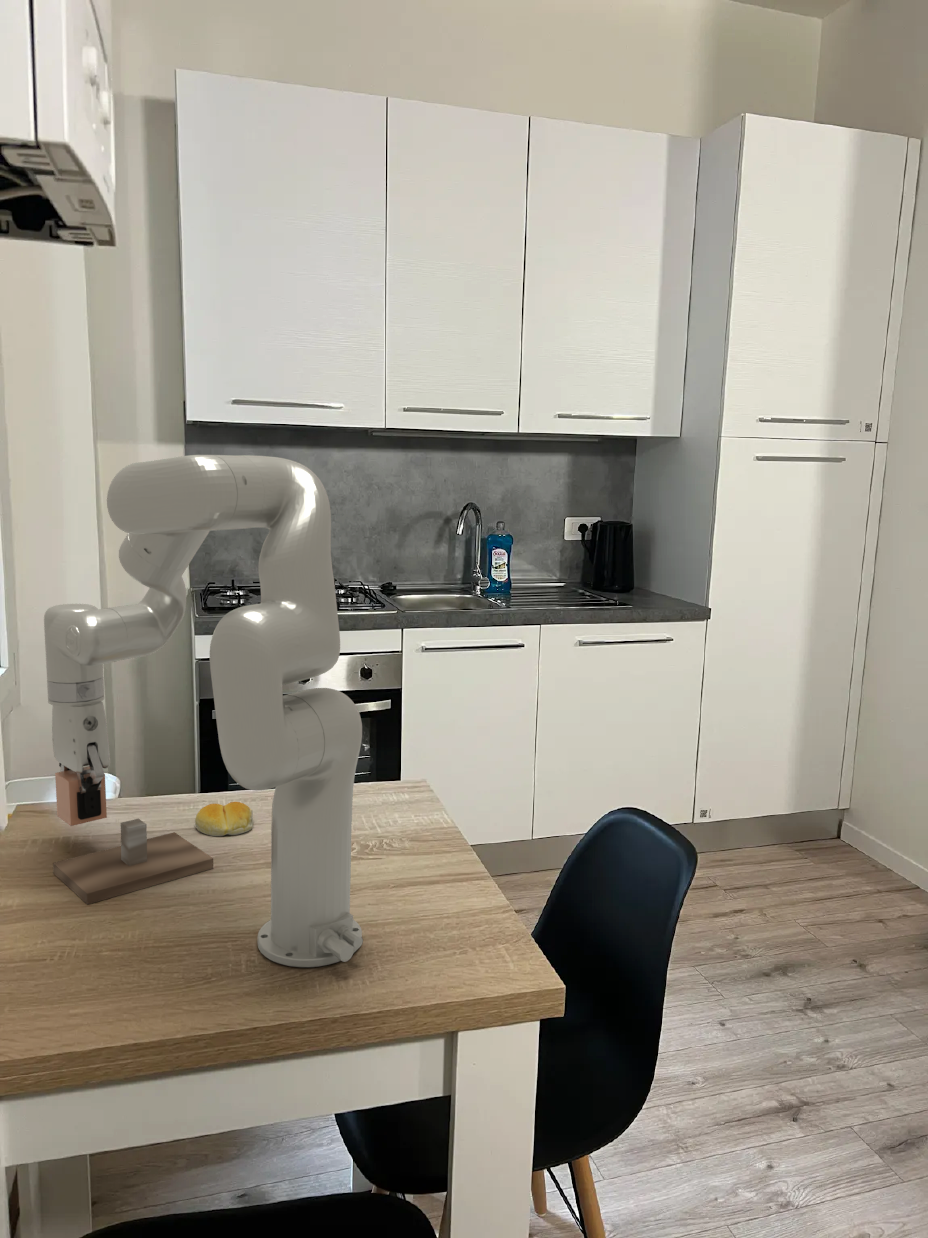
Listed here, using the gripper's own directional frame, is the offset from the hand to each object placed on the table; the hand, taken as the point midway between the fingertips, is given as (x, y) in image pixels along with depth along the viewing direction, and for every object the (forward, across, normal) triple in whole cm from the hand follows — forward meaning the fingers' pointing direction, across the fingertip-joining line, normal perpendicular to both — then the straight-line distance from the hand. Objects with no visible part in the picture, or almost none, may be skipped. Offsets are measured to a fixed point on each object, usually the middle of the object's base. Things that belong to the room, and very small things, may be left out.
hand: (81, 810), depth 139 cm
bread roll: (+7, -4, -21) cm, 22 cm away
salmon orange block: (+1, 0, 0) cm, 1 cm away
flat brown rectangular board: (+6, -11, -3) cm, 13 cm away
